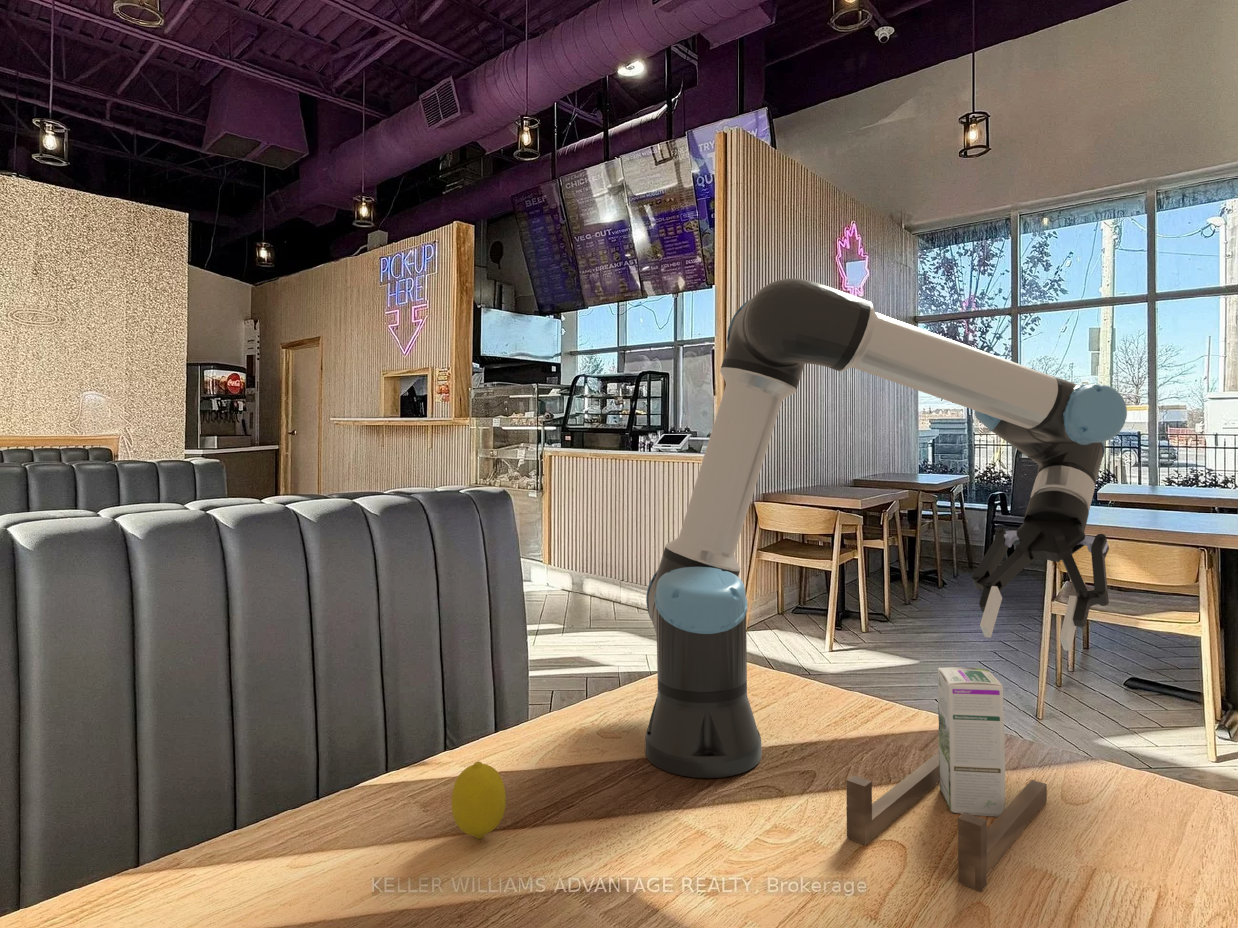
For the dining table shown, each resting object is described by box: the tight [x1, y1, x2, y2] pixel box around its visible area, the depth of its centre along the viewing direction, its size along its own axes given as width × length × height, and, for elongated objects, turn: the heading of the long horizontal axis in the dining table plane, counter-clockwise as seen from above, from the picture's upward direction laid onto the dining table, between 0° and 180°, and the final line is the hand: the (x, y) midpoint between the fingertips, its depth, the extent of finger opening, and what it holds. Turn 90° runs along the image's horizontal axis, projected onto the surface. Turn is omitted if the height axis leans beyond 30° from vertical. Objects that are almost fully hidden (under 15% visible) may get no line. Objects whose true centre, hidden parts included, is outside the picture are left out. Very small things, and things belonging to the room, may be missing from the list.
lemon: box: [451, 761, 507, 840], centre depth 76 cm, size 6×6×8 cm
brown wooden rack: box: [845, 752, 1048, 893], centre depth 78 cm, size 13×22×6 cm, turn 135°
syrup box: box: [937, 666, 1006, 817], centre depth 81 cm, size 6×6×14 cm
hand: (1023, 637), depth 94 cm, fingers open, 9 cm apart
